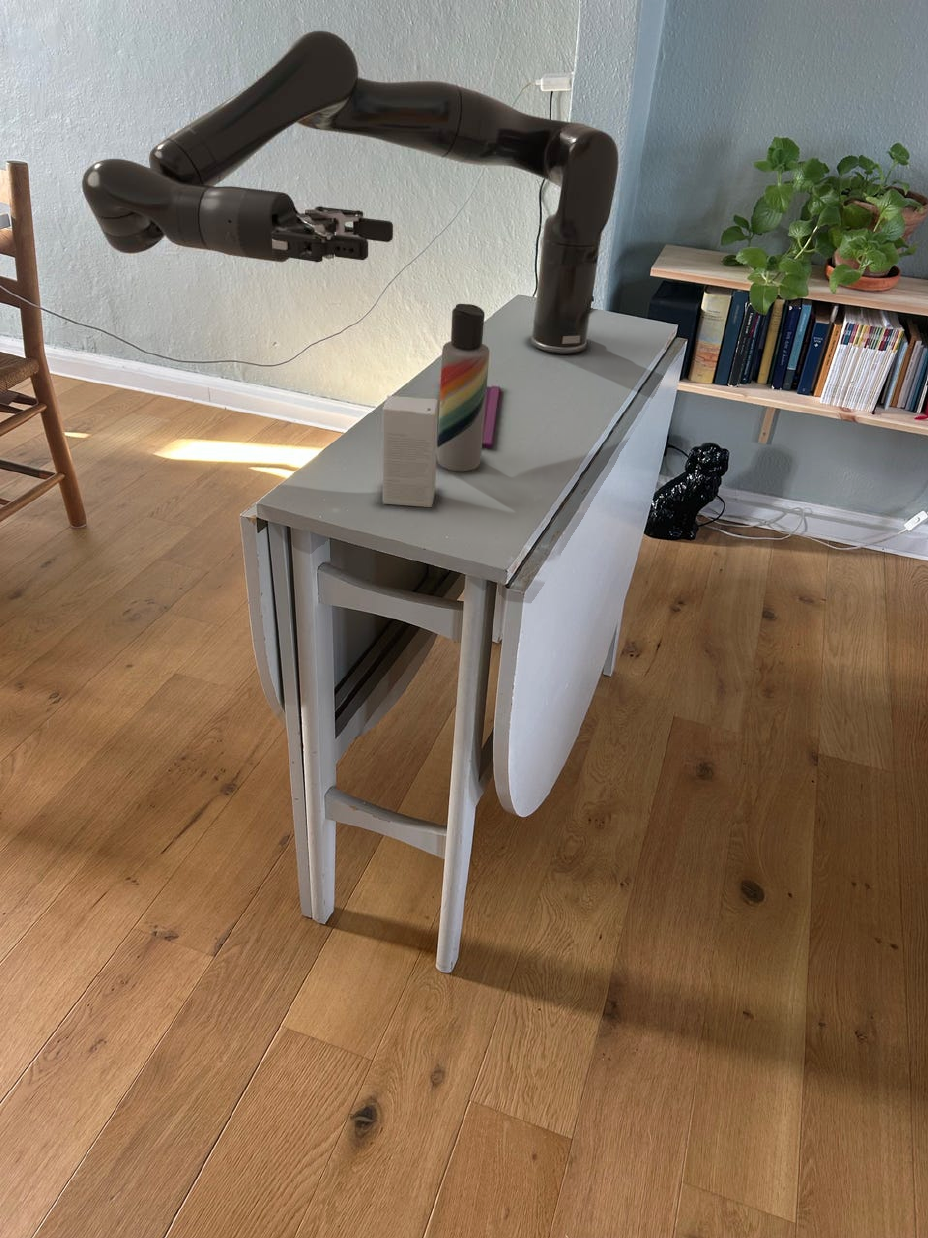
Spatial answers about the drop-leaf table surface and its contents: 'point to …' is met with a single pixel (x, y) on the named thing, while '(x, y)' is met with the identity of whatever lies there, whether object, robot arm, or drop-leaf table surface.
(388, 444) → the cosmetic box
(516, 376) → the drop-leaf table surface
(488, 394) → the purple rectangular block
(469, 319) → the lotion bottle
